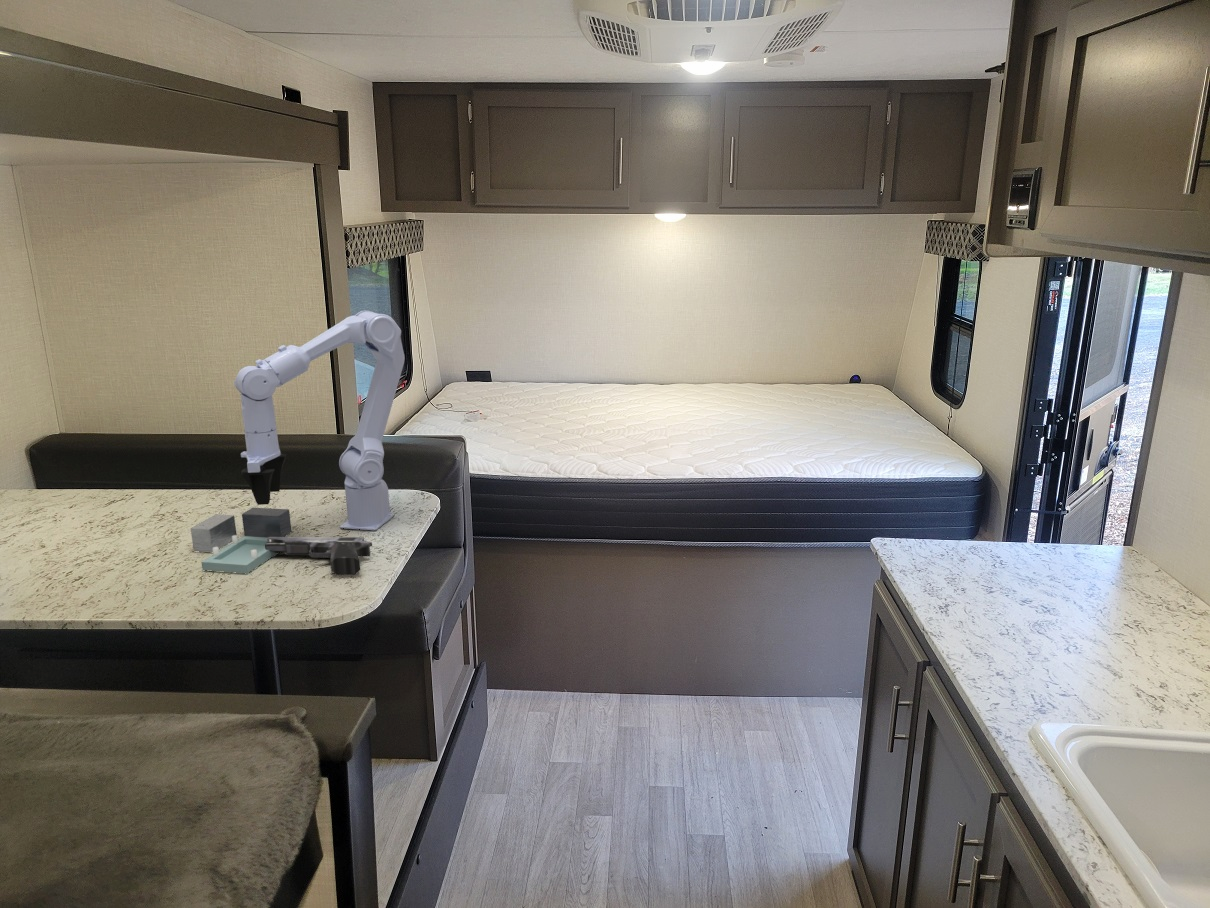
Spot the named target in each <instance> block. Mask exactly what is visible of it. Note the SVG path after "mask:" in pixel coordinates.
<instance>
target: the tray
mask: <svg viewBox="0 0 1210 908" xmlns="http://www.w3.org/2000/svg"><path fill="white" fill-rule="evenodd" d="M269 541H270V542H271V539H269ZM266 542H267V538H265V537H250V536H244V535H242V536H241V537H238V534H237V535H233V536H232V542H230V543H229V544H227V545H225V546H224V547H222V548H221V549H218V547H213V548H212V549H213V553H212V554H211V555H210V556H208V557H207V558H206V559H204V560H202V561H201V569H202V570H201V571H203V570H212V571H224V572H236V573H246V574H245V575H249V574H250V573H249V572H250V571H252V570H253V569H255V568H256V567H258V566H259V565H260V564H262V563H263V564H265V563H266V562H268V561H269V560H271V559H272V558H274V557H275V556H276V555H277V553H275V552H274V551H269V550H266V549H265V543H266ZM274 555H275V556H274ZM271 557H272V558H271ZM270 558H271V559H270ZM268 559H269V560H268ZM267 560H268V561H267ZM265 561H266V562H265ZM264 562H265V563H264ZM263 564H262V565H263ZM259 567H260V566H259ZM259 567H258V568H259ZM256 569H257V568H256ZM256 569H255V570H256ZM253 571H254V570H253ZM253 571H252V572H253ZM248 573H249V574H248Z"/></svg>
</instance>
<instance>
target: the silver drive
mask: <svg viewBox="0 0 1210 908" xmlns="http://www.w3.org/2000/svg"><path fill="white" fill-rule="evenodd" d="M236 526H237V525H236V519H235V515H233V514H219V513H218V514H214V515H212V516H211V517H208V518H207V519H204V520H203V521H201V522H199V523H198V524H195V525H194V526H192V527H190V534H191V543H192V548H193V552H194V551H199V552H198V553H200V552H213V549H212V548H213V547H218V549H219V550H221V549H222V548H224V547H226V546H228V545H229V544H231V543H233V541H232V536H233V535H237V536H238V534H237V528H236ZM228 543H229V544H228ZM223 546H224V547H223ZM221 547H222V548H221ZM220 548H221V549H220Z"/></svg>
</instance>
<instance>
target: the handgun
mask: <svg viewBox="0 0 1210 908" xmlns="http://www.w3.org/2000/svg"><path fill="white" fill-rule="evenodd" d="M269 539H271V542H270V541H269ZM372 546H373V542H372V541H367V540H365V538H364V536H363V537H362V536H357V537H356V536H352V537H351V536H350V537H349V536H285V537H268V538H267V542H266V543H265V549H266V550H269V551H274V552H275V553H278V554H283V555H284V554H285V555H286V556H309V557H311V558H330V569H331V570H330V571H331V572H332V573H334V574H335V575H337V576H355V575H357V574H358V573H359V572H360V571H361V563H360V558H359V557H371V547H372Z"/></svg>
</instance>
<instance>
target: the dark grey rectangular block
mask: <svg viewBox="0 0 1210 908" xmlns="http://www.w3.org/2000/svg"><path fill="white" fill-rule="evenodd" d="M241 518H242V519H241V520H242V529H243V533H244V534H243V536H250V537H265V538H268V537H287V536H288V535H290V534H291V533H292V525H291V524H292V522H291V514H290V509H289V508H269V507H251V508H250V509H247V510H246V511H245V512H243V513H242V514H241ZM290 532H291V533H290ZM286 535H287V536H286Z"/></svg>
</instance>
